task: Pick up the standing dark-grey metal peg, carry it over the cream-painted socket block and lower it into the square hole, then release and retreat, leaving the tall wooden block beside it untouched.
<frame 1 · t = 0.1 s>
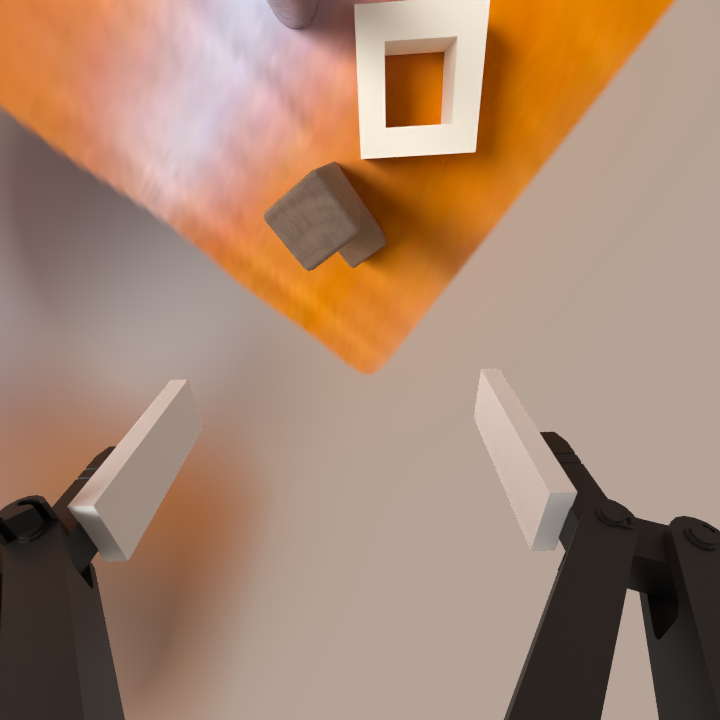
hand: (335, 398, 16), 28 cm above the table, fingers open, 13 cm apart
socket: (412, 92, 33), on the table
wooden block: (344, 212, 39), on the table
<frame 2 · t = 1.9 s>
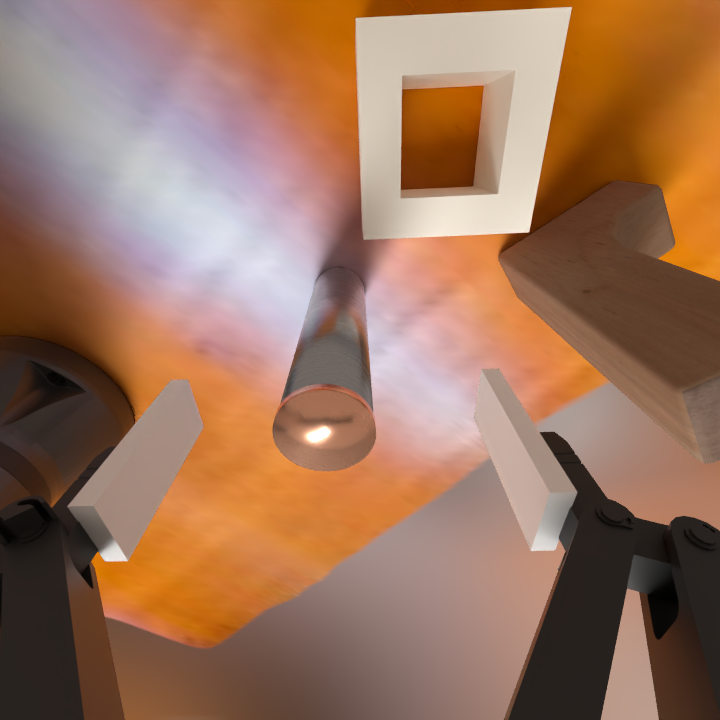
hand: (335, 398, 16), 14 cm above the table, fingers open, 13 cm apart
peg: (339, 292, 29), on the table
socket: (435, 141, 23), on the table
wooden block: (561, 243, 27), on the table
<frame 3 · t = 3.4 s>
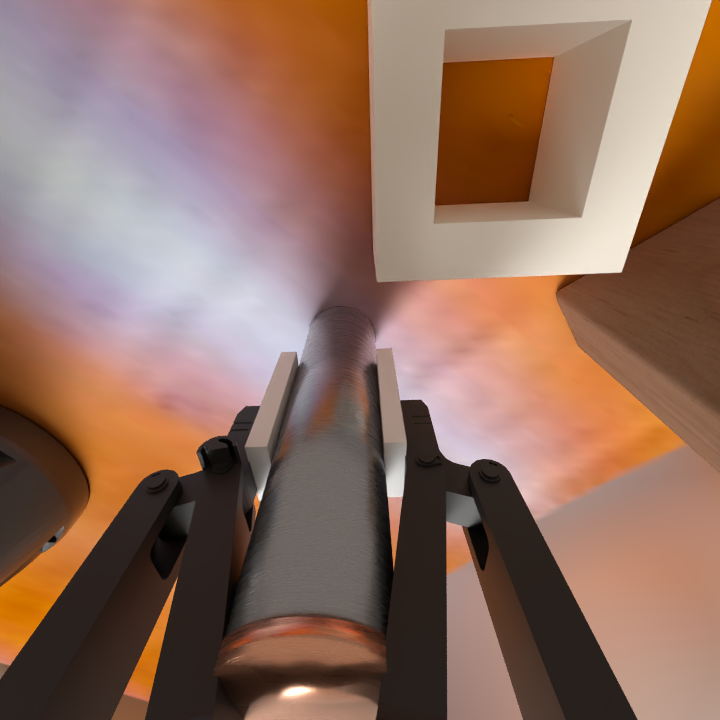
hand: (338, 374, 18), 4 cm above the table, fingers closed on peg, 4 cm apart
peg: (341, 337, 22), on the table, touching gripper
socket: (478, 138, 17), on the table
wooden block: (641, 276, 20), on the table
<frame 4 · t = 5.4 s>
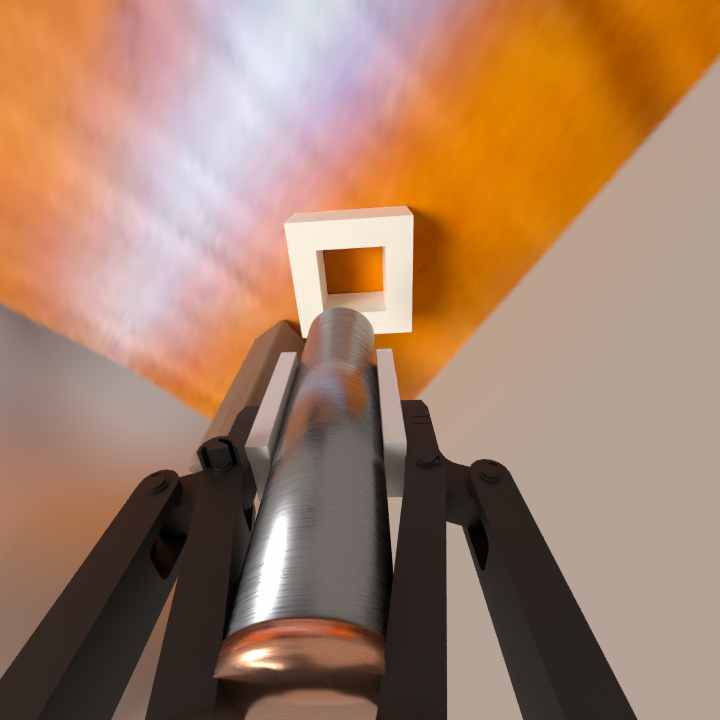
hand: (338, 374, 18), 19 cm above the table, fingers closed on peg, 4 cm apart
peg: (341, 338, 22), point 15 cm above the table, touching gripper
socket: (353, 265, 34), on the table
wooden block: (297, 357, 40), on the table
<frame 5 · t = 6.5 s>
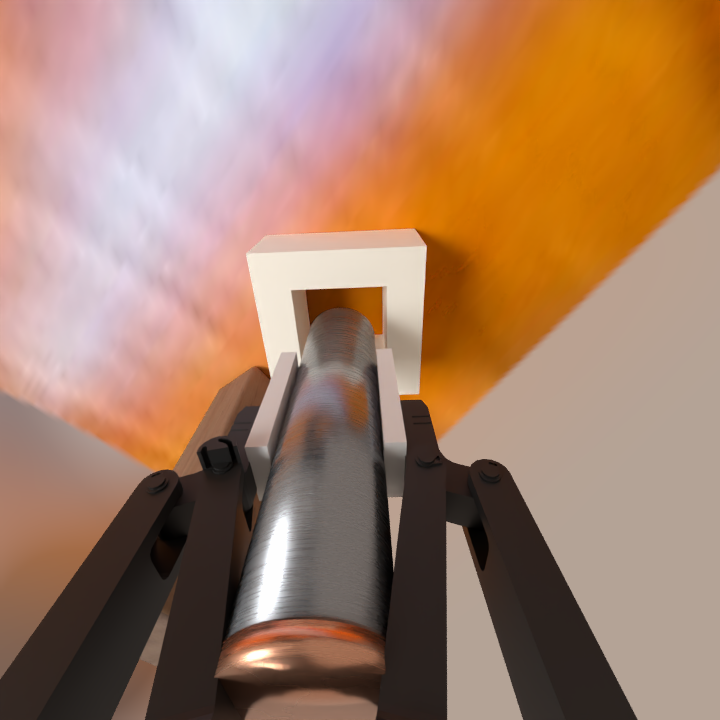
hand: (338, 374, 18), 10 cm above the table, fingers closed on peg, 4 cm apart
peg: (341, 338, 22), point 6 cm above the table, touching gripper
socket: (344, 301, 27), on the table
wooden block: (273, 409, 32), on the table
when the fingers open (7 cm above the table, at t = 7.4 s): peg drops 2 cm, resting in socket.
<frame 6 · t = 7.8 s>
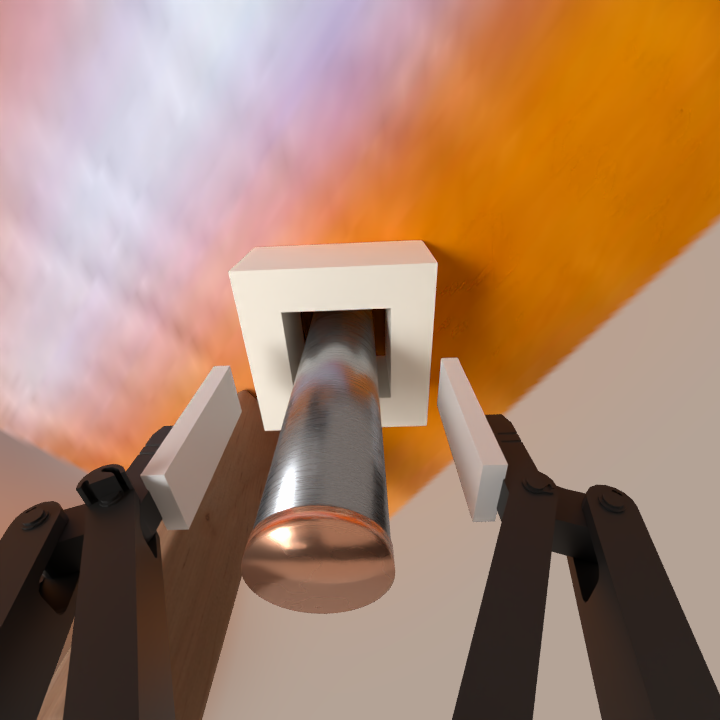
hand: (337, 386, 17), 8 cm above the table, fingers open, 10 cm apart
peg: (343, 320, 24), resting in socket
socket: (343, 320, 24), on the table
wooden block: (265, 435, 29), on the table
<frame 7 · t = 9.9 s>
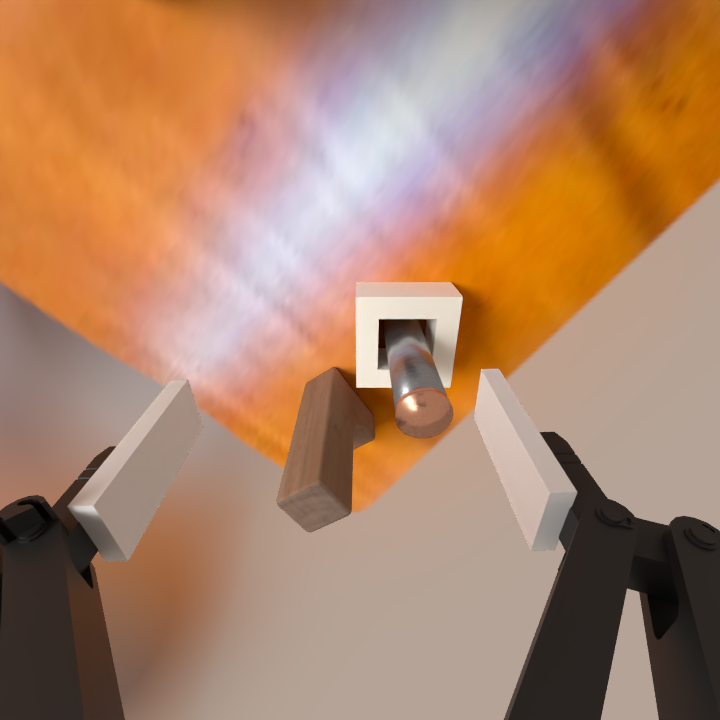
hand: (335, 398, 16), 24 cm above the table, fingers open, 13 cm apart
peg: (400, 325, 40), resting in socket
socket: (401, 325, 40), on the table
wooden block: (341, 398, 45), on the table
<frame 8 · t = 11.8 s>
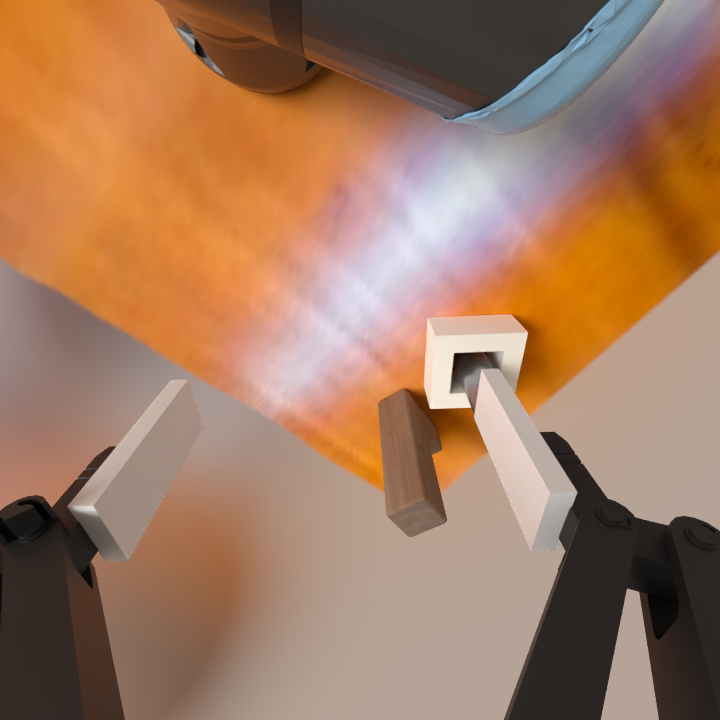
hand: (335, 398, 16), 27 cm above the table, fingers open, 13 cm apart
peg: (464, 352, 46), resting in socket
socket: (465, 352, 46), on the table
wooden block: (407, 414, 51), on the table
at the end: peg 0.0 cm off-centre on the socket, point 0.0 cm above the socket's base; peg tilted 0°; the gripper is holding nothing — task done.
